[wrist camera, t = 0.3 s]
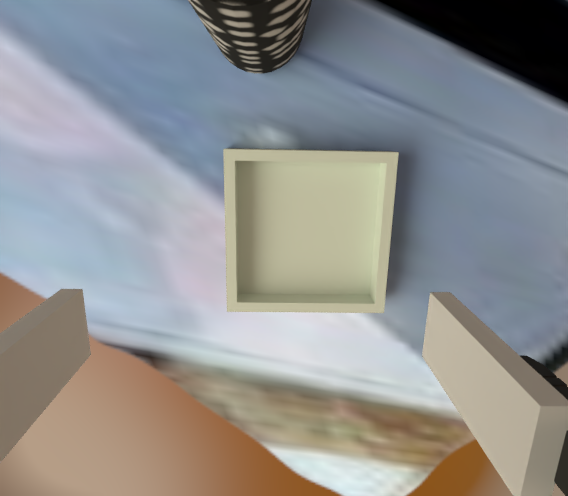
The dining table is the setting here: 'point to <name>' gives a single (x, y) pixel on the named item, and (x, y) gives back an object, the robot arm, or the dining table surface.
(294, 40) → the spotted tube
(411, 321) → the dining table surface
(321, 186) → the tray
